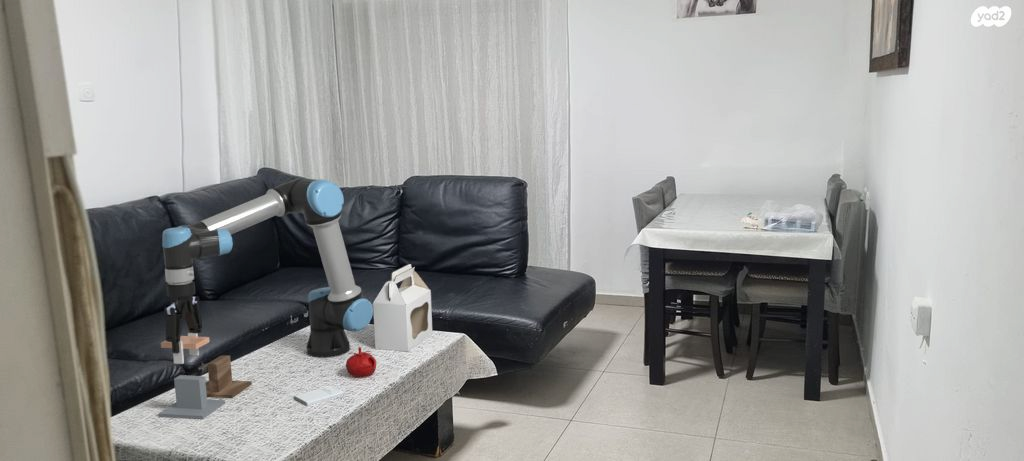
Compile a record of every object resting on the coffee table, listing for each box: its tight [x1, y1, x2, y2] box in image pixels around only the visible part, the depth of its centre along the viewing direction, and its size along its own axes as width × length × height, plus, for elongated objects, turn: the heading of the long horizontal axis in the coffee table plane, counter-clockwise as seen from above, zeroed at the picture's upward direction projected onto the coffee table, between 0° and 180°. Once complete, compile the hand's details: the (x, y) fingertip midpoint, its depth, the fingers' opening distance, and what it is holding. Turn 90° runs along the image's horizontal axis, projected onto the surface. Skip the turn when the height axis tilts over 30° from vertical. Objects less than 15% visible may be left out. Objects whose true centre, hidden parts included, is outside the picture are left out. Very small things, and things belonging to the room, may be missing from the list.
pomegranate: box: [345, 346, 377, 379], centre depth 259 cm, size 10×10×9 cm
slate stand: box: [157, 374, 226, 420], centre depth 232 cm, size 14×12×10 cm
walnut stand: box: [205, 354, 253, 399], centre depth 248 cm, size 14×12×10 cm
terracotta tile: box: [160, 335, 210, 350], centre depth 230 cm, size 7×11×2 cm, turn 80°
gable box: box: [372, 263, 433, 353], centre depth 292 cm, size 22×13×28 cm, turn 162°
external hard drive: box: [293, 384, 345, 407], centre depth 241 cm, size 2×8×12 cm
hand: (186, 358), depth 230 cm, fingers closed on terracotta tile, 7 cm apart
